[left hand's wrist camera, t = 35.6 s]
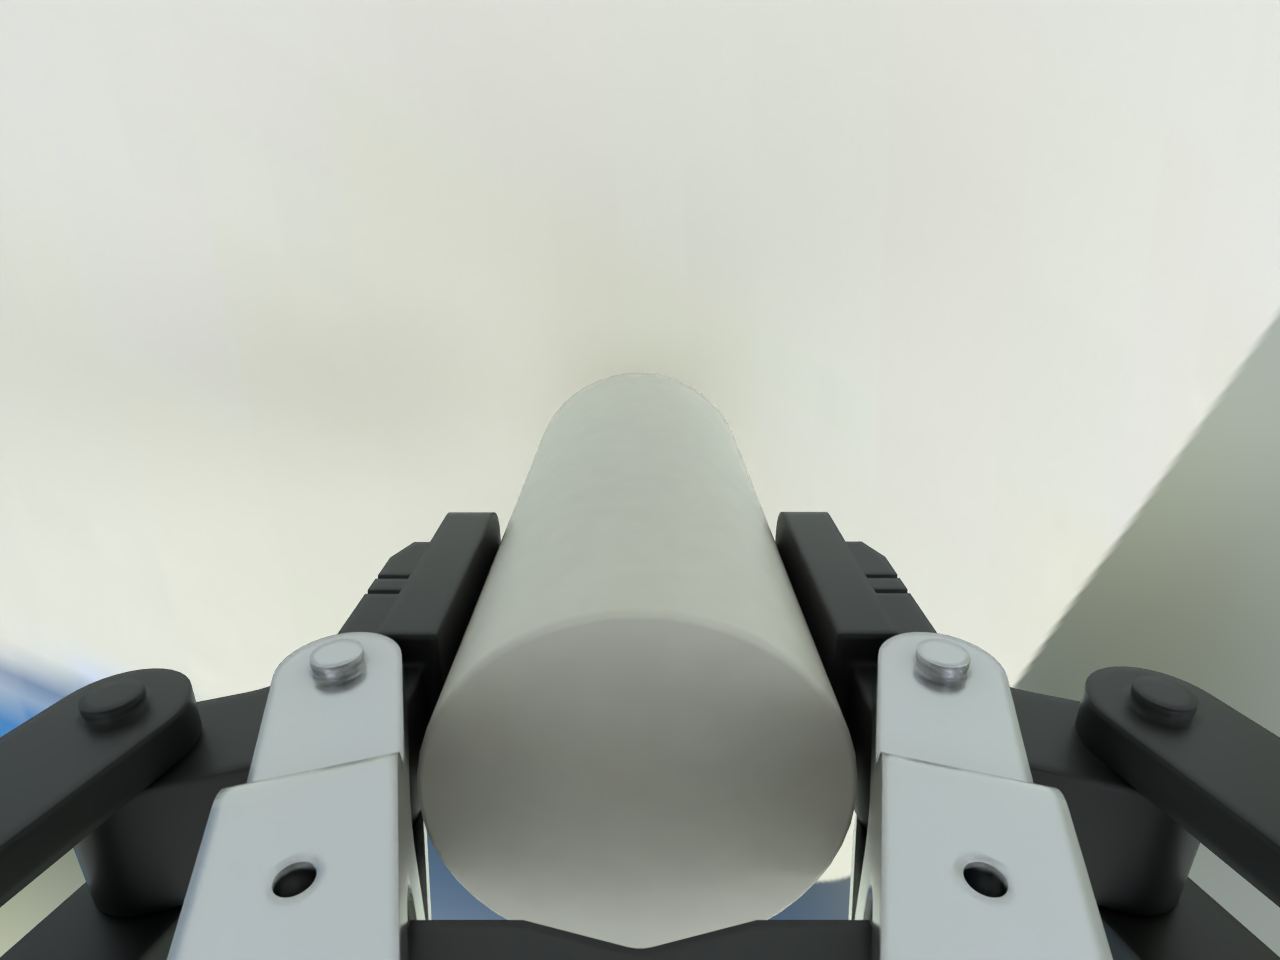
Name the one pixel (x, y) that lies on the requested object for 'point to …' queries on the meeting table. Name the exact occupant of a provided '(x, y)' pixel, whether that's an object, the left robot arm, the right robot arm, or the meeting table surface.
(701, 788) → the cylinder
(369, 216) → the meeting table surface
